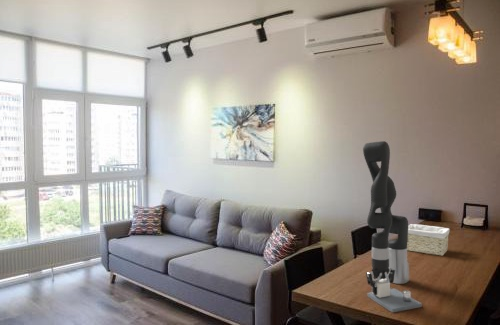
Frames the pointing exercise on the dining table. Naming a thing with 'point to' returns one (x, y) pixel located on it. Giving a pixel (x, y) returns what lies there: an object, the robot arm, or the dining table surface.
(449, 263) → the dining table surface
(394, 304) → the base plate
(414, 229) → the storage basket
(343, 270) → the dining table surface
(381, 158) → the robot arm
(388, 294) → the cream rounded cube
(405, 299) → the stub
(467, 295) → the dining table surface
